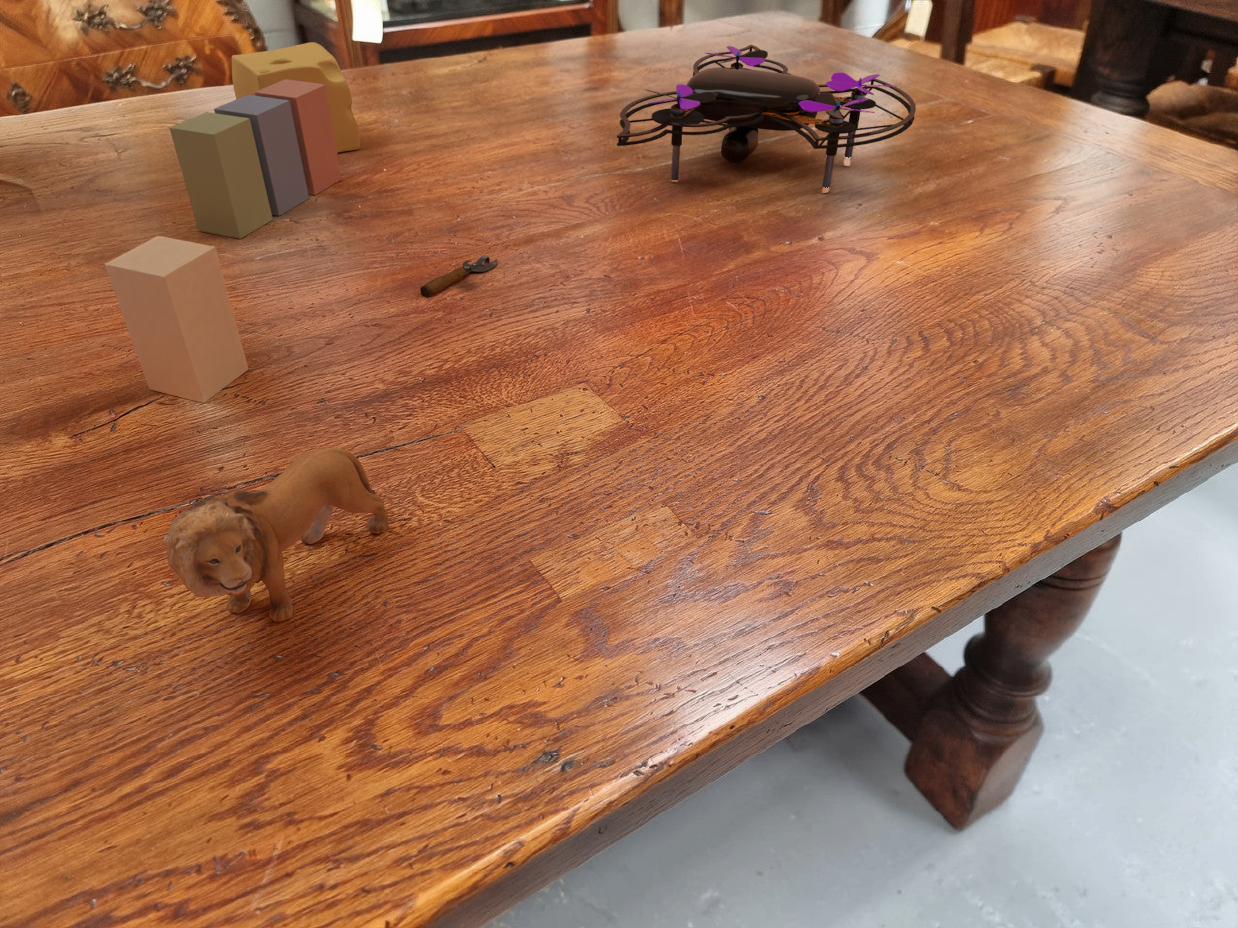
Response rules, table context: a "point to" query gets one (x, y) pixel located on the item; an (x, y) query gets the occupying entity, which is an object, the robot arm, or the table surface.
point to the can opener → (456, 276)
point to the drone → (764, 108)
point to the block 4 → (310, 130)
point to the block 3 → (274, 148)
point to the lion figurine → (267, 528)
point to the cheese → (306, 67)
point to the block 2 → (179, 317)
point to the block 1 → (222, 174)
